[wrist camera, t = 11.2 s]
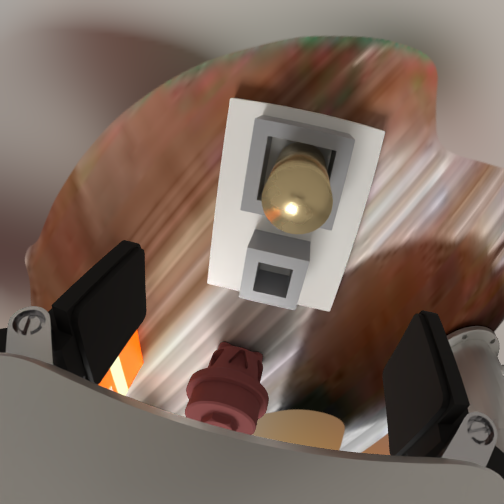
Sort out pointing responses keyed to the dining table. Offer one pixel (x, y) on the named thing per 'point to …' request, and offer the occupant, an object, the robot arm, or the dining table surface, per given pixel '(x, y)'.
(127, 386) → the orange juice
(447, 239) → the dining table surface
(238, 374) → the mechanical component
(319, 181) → the brass pipe fitting
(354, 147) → the plate
